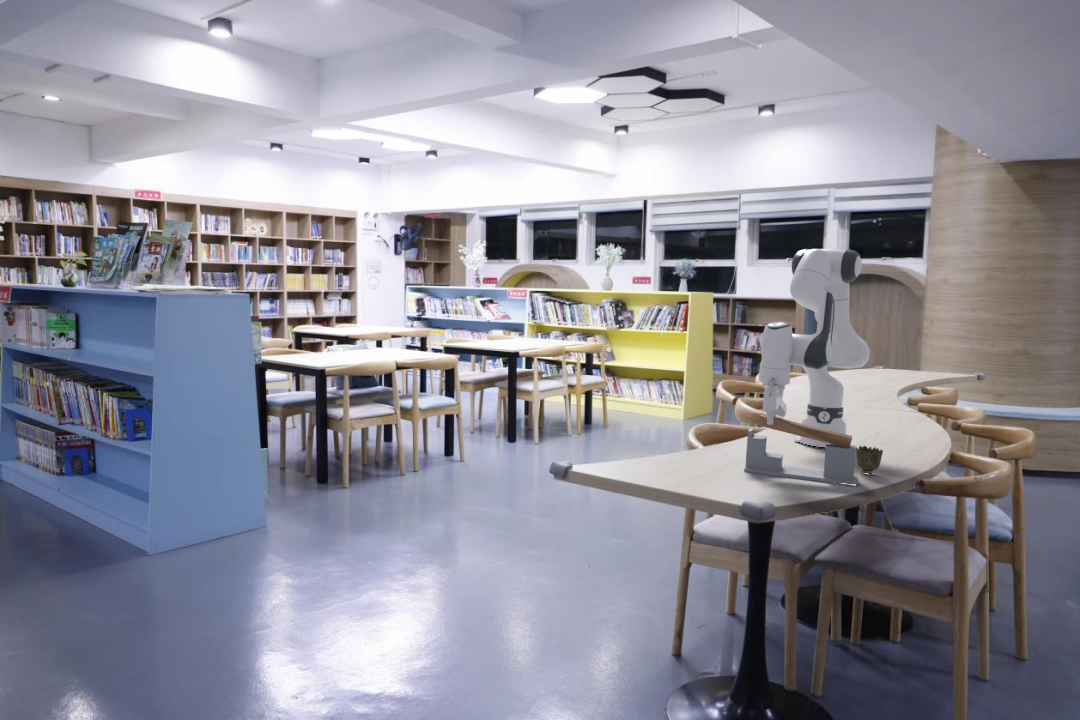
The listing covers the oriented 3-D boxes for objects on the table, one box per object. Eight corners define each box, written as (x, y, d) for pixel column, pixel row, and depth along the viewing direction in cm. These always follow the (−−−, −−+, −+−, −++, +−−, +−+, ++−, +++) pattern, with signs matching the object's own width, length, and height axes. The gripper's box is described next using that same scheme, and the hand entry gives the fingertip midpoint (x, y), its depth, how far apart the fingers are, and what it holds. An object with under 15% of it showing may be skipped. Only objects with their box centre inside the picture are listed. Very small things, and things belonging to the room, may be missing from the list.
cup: (872, 478, 218) (874, 452, 217) (848, 473, 224) (851, 447, 223) (885, 475, 222) (887, 449, 222) (862, 470, 228) (864, 444, 227)
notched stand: (748, 464, 230) (751, 426, 228) (856, 478, 218) (860, 438, 217) (744, 471, 220) (747, 432, 219) (856, 486, 209) (860, 444, 207)
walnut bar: (756, 421, 225) (775, 390, 222) (833, 468, 217) (855, 437, 214) (754, 423, 221) (774, 392, 218) (833, 471, 214) (855, 440, 211)
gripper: (782, 381, 209) (779, 429, 210) (788, 374, 228) (784, 418, 229) (759, 379, 211) (756, 427, 213) (766, 372, 230) (763, 416, 232)
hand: (770, 422), depth 221 cm, fingers closed on walnut bar, 4 cm apart
